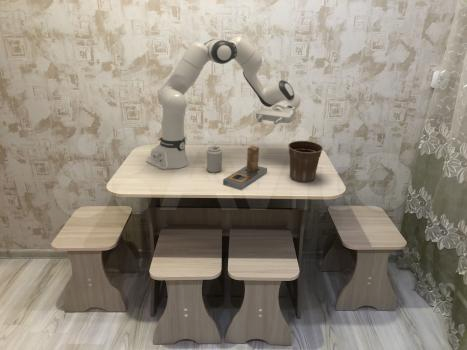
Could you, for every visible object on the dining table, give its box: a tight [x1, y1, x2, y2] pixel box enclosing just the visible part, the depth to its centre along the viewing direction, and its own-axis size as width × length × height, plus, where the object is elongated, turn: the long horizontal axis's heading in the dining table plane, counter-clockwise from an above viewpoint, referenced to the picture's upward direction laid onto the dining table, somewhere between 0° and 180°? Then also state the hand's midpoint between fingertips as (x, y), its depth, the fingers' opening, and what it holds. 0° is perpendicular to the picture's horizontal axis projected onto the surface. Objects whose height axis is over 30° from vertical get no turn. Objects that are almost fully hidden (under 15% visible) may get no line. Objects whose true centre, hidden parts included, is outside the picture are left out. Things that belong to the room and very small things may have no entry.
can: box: [206, 145, 223, 174], centre depth 196 cm, size 8×8×12 cm
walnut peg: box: [246, 145, 260, 173], centre depth 192 cm, size 4×4×14 cm
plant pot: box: [287, 140, 324, 183], centre depth 189 cm, size 16×16×16 cm
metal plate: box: [222, 165, 268, 191], centre depth 190 cm, size 10×24×3 cm, turn 147°
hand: (266, 121), depth 194 cm, fingers open, 8 cm apart
